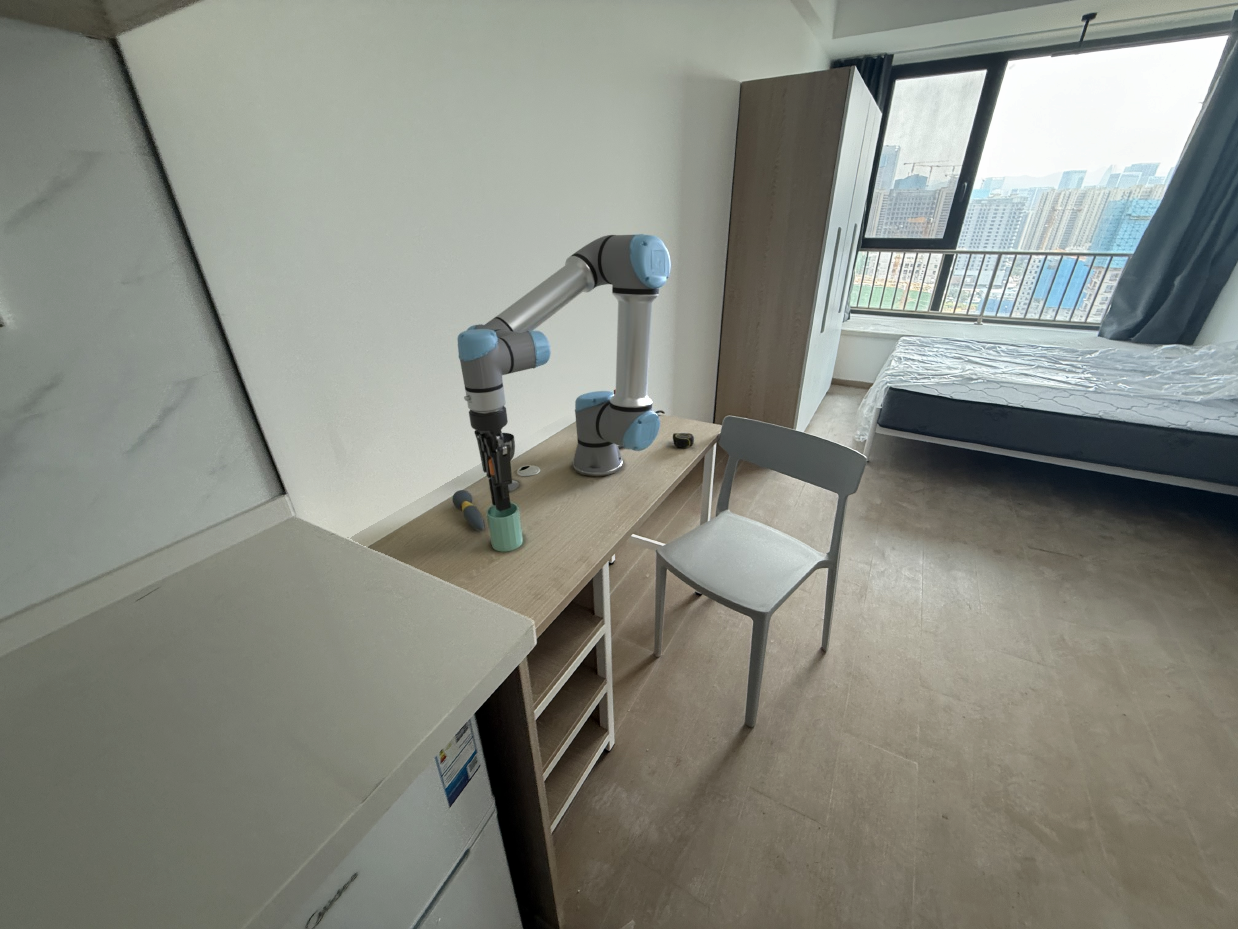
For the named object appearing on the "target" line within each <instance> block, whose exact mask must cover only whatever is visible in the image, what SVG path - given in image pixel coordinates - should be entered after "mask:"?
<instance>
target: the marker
mask: <svg viewBox="0 0 1238 929" xmlns="http://www.w3.org/2000/svg"><path fill="white" fill-rule="evenodd" d="M488 462H489V468H490V474H491V479H492V486H493V484H495V483H496V479H495V474H494V469H493V464H492V459H490V460H489V461H488ZM493 492H494V499H495V505H496V509H497V510H498V503H497V497H496V490H495V487H494V486H493Z"/></svg>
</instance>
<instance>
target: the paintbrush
mask: <svg viewBox="0 0 1238 929" xmlns="http://www.w3.org/2000/svg"><path fill="white" fill-rule="evenodd" d="M451 499H452V500H451V501H452V504H453V506H454V507H455V508H456V509H457V510H461V511H462V515H463V517H464V519H465V520H466V521H467V523H468V524H469V525H470V526H471V527H472V528H474V529H475V530H476V531H481V532H482V531H483V530H484V528H485V523H484V520H483V516H482V514H481V512H480V511H479V508H478V507H477V506H475V505H474V504H473V496H472V494H471V493H470V491H468V490H465V489H460V490H457V491H455V492H454V494H453V495H452V498H451Z"/></svg>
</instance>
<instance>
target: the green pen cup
mask: <svg viewBox="0 0 1238 929" xmlns="http://www.w3.org/2000/svg"><path fill="white" fill-rule="evenodd" d="M510 503H511V508H509V509H506V510H503V511H499V510H497V509H496V505H495V506H494V505H493V504H492V505H490V506H489V507H488V508H487V509H486V512H485V513H486V520H487V525H488V531H489V537H490V543H491V547H492V548H493V549H494V550H495V551H498V552H511V551H514V550H516V549H518V548H519V547H521V546H522V544H523V543H524V536H523V531H522V523H521V522H522V521H521V515H520V508H519V505H518V504H516V503H514V502H513V501H510Z"/></svg>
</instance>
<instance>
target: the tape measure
mask: <svg viewBox="0 0 1238 929" xmlns="http://www.w3.org/2000/svg"><path fill="white" fill-rule="evenodd" d="M672 441H673V445H674V446H675V447H677V448H683V449H685V448H690V447H692V446H693V445H694V442H695V437H694V435H693V434H692V433H689V432H676V433H675V432H674V433H673V434H672Z"/></svg>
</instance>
